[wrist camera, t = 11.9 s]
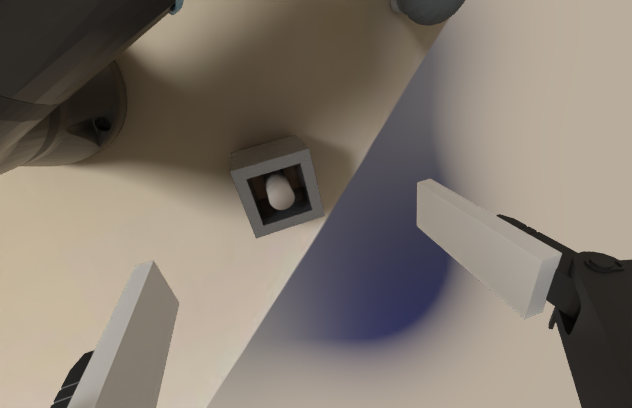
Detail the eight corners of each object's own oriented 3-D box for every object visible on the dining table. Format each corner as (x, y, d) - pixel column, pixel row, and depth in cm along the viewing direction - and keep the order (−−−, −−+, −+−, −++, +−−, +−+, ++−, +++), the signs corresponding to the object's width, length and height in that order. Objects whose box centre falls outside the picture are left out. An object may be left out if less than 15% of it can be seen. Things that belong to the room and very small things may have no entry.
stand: (254, 201, 37) (258, 236, 29) (236, 152, 34) (236, 177, 26) (303, 186, 38) (321, 216, 30) (291, 137, 35) (307, 156, 27)
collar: (252, 210, 36) (256, 238, 30) (231, 152, 32) (229, 171, 26) (310, 192, 37) (324, 215, 31) (295, 134, 33) (309, 148, 27)
